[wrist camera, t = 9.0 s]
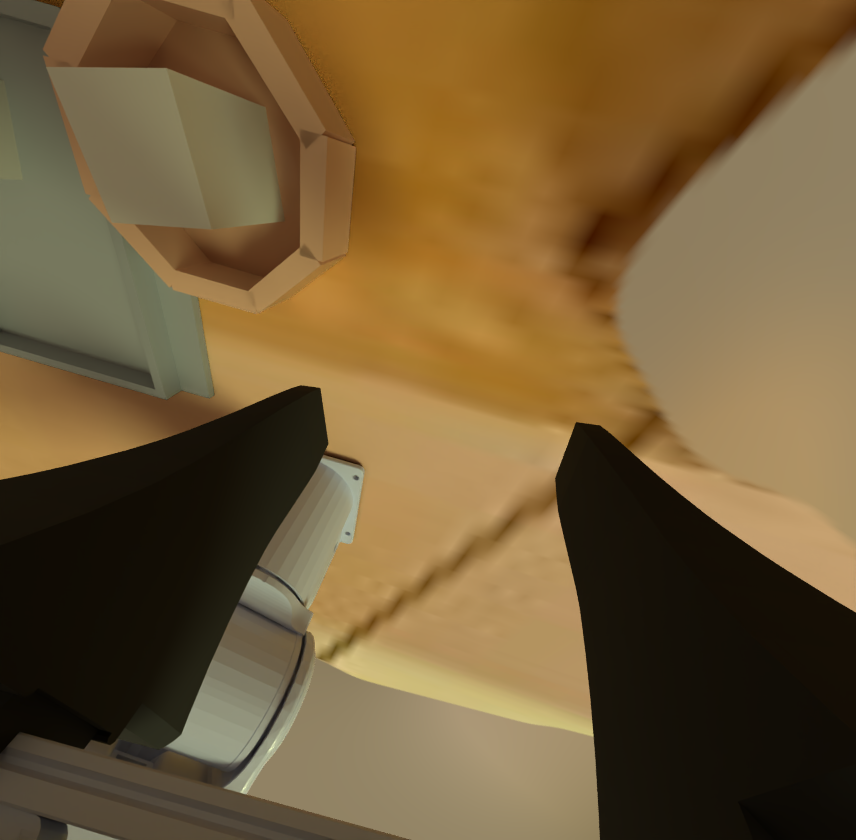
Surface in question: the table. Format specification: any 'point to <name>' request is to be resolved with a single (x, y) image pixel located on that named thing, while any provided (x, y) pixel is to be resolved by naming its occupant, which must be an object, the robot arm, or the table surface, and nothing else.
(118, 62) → the bowl
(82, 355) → the parts tray
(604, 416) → the table surface
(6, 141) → the beige square block
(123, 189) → the sage green cube
